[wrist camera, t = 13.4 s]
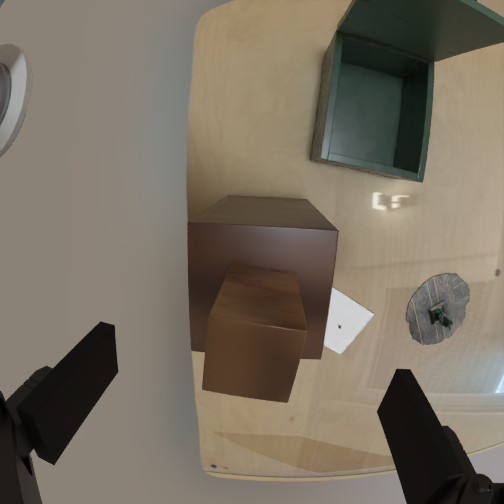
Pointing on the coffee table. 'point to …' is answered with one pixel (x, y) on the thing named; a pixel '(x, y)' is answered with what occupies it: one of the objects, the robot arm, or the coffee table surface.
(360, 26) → the box lid
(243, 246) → the plinth
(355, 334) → the coaster
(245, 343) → the block
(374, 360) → the coffee table surface
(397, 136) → the green box
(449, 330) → the sculpture
